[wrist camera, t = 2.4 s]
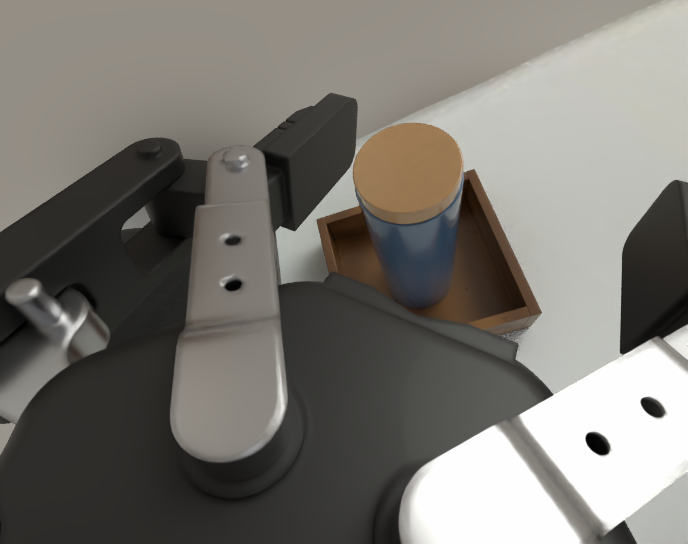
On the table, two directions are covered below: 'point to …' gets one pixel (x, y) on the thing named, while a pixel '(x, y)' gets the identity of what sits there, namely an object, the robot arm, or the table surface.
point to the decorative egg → (156, 302)
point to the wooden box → (469, 268)
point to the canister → (412, 208)
